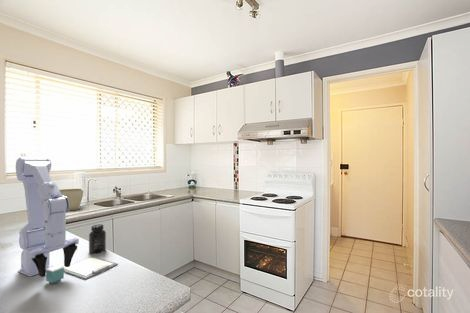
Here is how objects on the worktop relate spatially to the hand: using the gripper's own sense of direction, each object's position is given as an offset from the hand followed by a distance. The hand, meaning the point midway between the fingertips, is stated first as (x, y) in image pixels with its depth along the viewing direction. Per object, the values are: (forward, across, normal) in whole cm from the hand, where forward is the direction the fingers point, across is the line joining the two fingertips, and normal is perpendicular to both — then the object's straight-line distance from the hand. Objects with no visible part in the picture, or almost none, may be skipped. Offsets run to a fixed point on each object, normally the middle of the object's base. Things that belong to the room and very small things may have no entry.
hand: (55, 271), depth 81 cm
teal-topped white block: (+4, 0, 0) cm, 4 cm away
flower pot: (+3, +72, +123) cm, 143 cm away
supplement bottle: (+4, +24, +13) cm, 28 cm away
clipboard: (+4, +12, 0) cm, 13 cm away
